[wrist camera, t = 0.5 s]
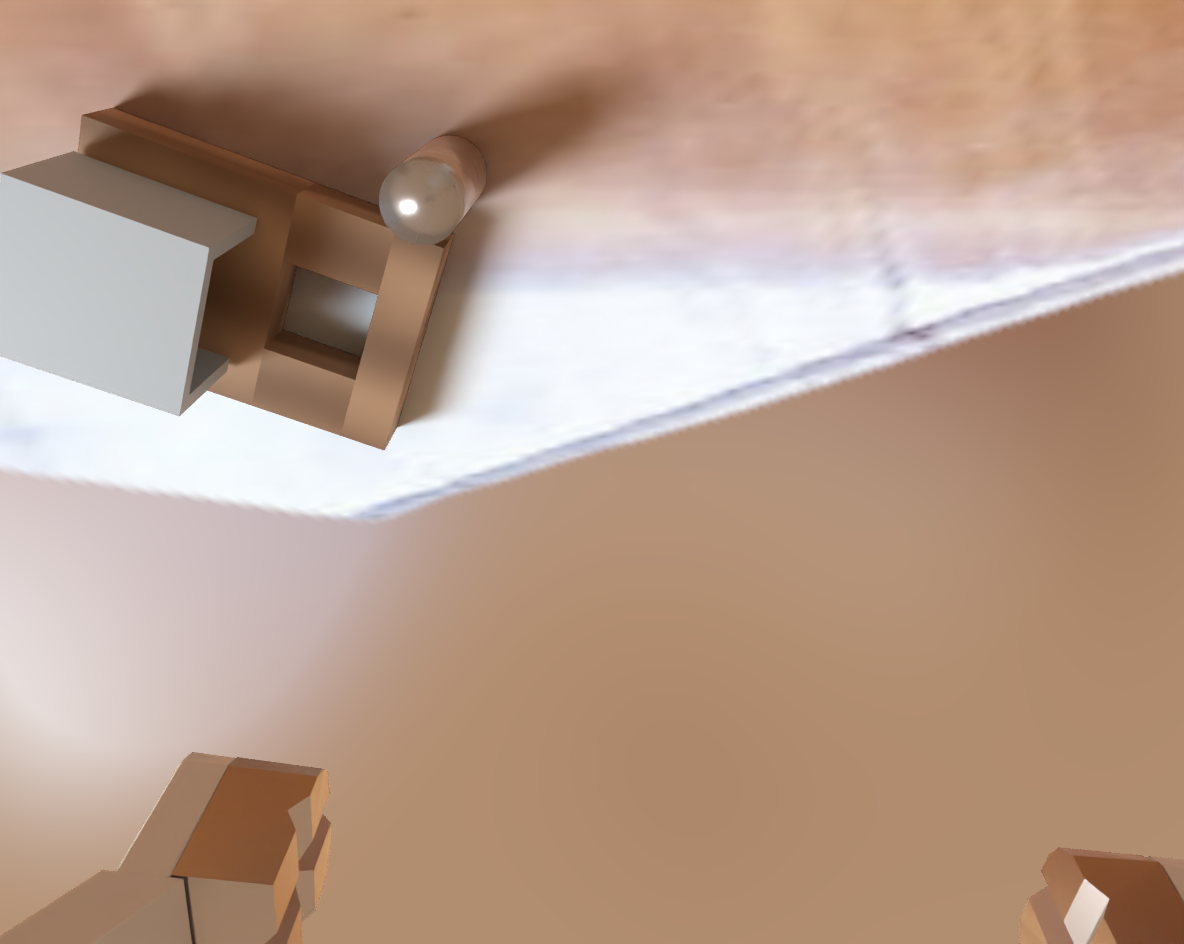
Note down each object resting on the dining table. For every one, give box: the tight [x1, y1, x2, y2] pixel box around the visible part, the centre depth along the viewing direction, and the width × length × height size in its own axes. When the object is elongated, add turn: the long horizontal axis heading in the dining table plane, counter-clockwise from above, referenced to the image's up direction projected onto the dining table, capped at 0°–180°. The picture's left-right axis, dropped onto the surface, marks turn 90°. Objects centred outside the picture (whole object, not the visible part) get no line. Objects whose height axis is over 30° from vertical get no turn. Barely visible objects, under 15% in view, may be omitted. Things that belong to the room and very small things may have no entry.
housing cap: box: [0, 151, 257, 416], centre depth 46 cm, size 9×9×6 cm
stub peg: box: [379, 135, 487, 246], centre depth 45 cm, size 4×4×8 cm
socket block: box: [78, 108, 454, 450], centre depth 51 cm, size 12×18×3 cm, turn 70°
